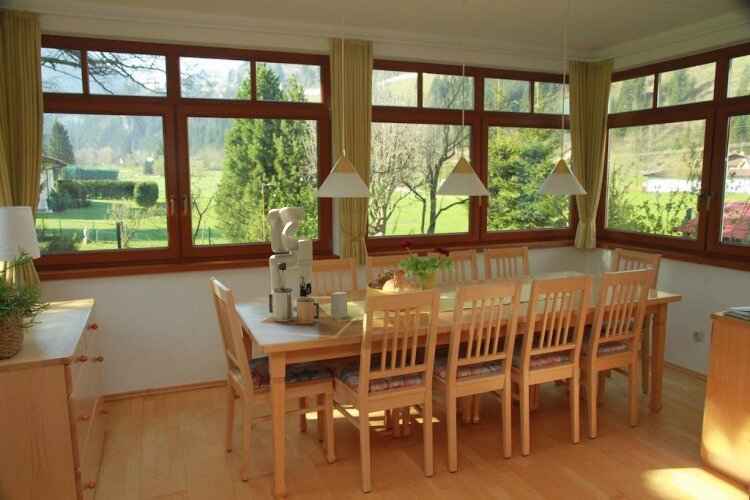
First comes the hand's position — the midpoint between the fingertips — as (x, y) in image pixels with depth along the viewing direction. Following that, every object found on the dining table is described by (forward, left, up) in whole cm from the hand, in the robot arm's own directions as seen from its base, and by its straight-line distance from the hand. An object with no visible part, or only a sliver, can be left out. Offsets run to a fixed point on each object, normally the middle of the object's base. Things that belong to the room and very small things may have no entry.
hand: (305, 294), depth 305 cm
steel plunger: (-2, -14, -2) cm, 14 cm away
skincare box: (-15, +14, -16) cm, 26 cm away
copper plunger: (0, 0, -11) cm, 11 cm away
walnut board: (-1, -8, -16) cm, 18 cm away
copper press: (0, +1, -15) cm, 15 cm away
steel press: (-2, -15, -15) cm, 21 cm away
